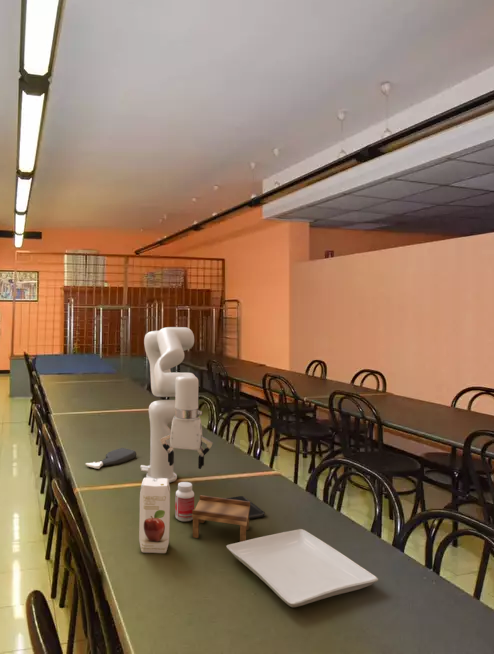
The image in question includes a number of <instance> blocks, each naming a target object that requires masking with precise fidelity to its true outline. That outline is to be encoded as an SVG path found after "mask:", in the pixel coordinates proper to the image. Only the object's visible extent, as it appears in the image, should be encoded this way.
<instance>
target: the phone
mask: <svg viewBox="0 0 494 654" xmlns="http://www.w3.org/2000/svg"><path fill="white" fill-rule="evenodd" d="M225 498H226V499H234V500H242V501H249V502H250V512H249V520H252V519H260V518H264V517H265V516H266V515H265V514H266V513H265V511H263V510H262V509H261V508H260V507H258V506H257V505H255V503H253V502H252V501H251V500H249V499H248V498H246V497H245V496H243V495H238V496H232V497H225Z"/></svg>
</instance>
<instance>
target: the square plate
mask: <svg viewBox="0 0 494 654" xmlns="http://www.w3.org/2000/svg"><path fill="white" fill-rule="evenodd" d="M225 546H226V549H227V550H228V551H229V552H230V553H231V554H232V555H233V556H234V557H235V558H236V559H237V560H238V561H239V562H240V563H242V564H243V565H244V566H245V567H247V569H248V570H249V571H251V572H252V573H253V574H254V575H256V577H258V578H259V579H260V580H261V581H262V582H263V583H264V584H265V585H267V586H268V588H270V589H271V590H272V592H273V593H274V594H276V595H277V597H279V598H280V599H281V600H282V601H283V602H284V603H285V604H286V605H288V606H289V607H291V608H298V607H302V606H305V605H308V604H311V603H315V602H317V601H320V600H325V599H327V598H331V597H334V596H338V595H342V594H346V593H350V592H354V591H358V590H361V589H364V588H366V587H370V586H371V585H374V584H375V583H377V582H379V578H378V577H377V575H375V574H373V573H371V572H370V571H368V570H367V569H365V568H364V567H363V566H361V565H359V564H358V563H357V562H355V561H353V560H352V559H351V558H349V557H348V556H346V555H344V554H343V553H341V551H339V550H337V549H335V548H334V547H332V546H331V545H330V544H328V543H326V542H325V541H324V540H321V539H320V538H319V537H316V536H315V535H313V534H312V533H310V532H308V531H307V530H305V529H302V528H298V529H294V530H288V531H283V532H277V533H274V534H269V535H263V536H260V537H254V538H251V539H246V541H242V542H240V541H239V542H235V543H230V544H227V545H225Z"/></svg>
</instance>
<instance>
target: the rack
mask: <svg viewBox="0 0 494 654" xmlns="http://www.w3.org/2000/svg"><path fill="white" fill-rule="evenodd" d="M226 498H227V497H217V496H211V495H203V494H200V495H199V500H198V502H197V504H196V506H195V507H194V509H193V510H192V518H193V520H192V538H195V539H198V538H199V536H200V523H201V524H205V523H206V521H209V522H216V523H223V524H229V525H237V526H239V542H242V541H246V540H247V531H249V529H250V519H249V512H250V502H251V501H250V500H249V501H250V502H249V501H242V500H234V499H226Z"/></svg>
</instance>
